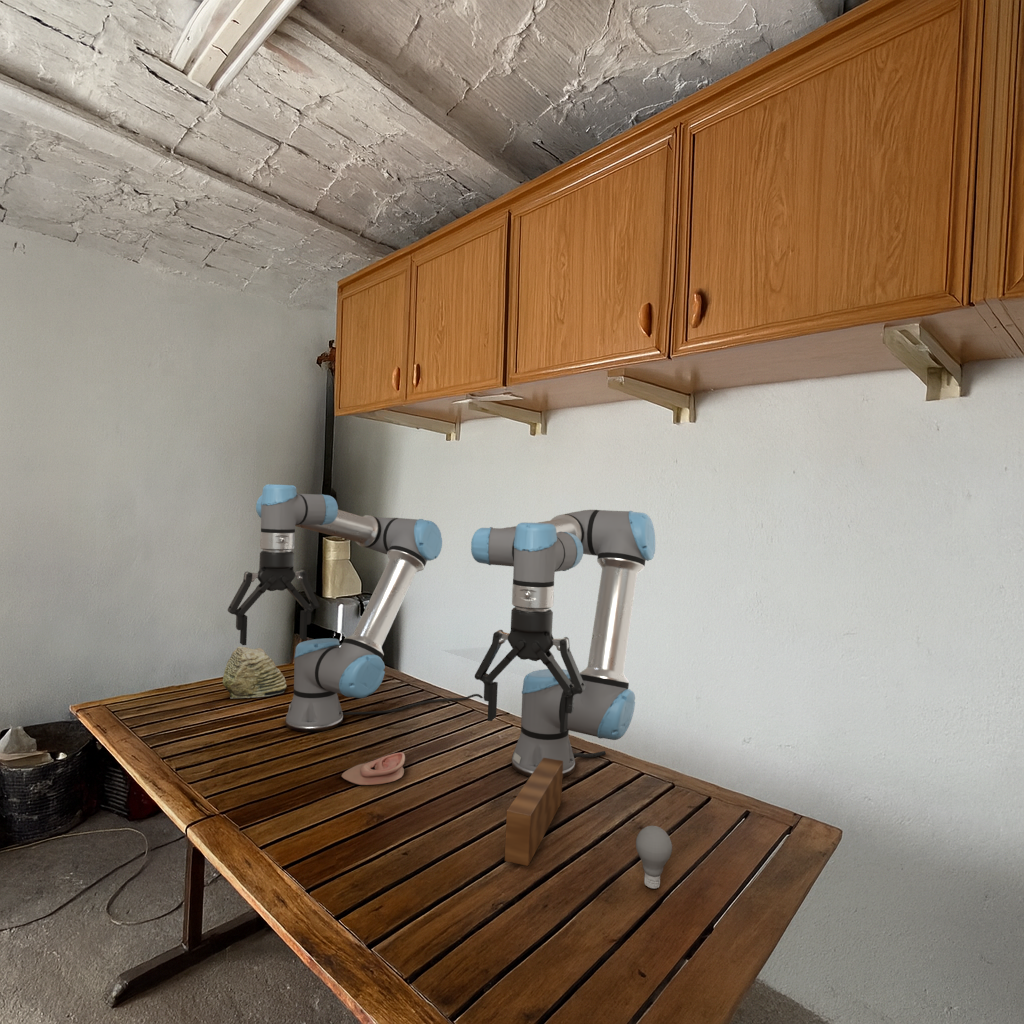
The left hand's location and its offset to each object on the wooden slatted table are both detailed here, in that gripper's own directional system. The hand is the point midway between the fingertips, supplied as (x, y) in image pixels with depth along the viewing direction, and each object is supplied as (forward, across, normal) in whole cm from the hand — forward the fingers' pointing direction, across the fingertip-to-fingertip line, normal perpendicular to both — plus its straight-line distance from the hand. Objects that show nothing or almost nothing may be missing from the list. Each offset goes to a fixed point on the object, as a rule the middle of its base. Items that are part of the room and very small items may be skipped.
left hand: (273, 641), depth 148 cm
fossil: (+29, +10, +54) cm, 62 cm away
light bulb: (+29, +40, -81) cm, 95 cm away
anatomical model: (+29, +18, -18) cm, 39 cm away
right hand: (+5, +28, -62) cm, 68 cm away
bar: (+29, +35, -56) cm, 72 cm away
